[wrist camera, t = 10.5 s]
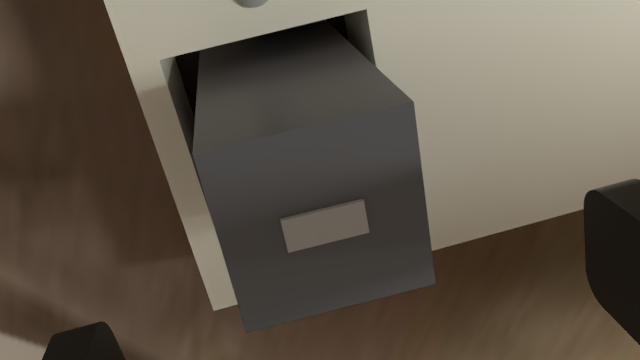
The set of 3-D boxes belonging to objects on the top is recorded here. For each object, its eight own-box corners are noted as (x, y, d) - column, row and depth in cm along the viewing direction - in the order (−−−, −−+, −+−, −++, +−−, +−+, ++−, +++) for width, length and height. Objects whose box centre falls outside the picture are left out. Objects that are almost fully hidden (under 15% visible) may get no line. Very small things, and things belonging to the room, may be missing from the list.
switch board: (574, -146, 18) (655, -159, 15) (580, 153, 22) (643, 194, 19) (114, -39, 17) (92, -27, 14) (212, 252, 21) (213, 313, 18)
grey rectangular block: (325, 20, 19) (415, 103, 11) (346, 137, 20) (436, 286, 12) (199, 48, 18) (192, 156, 10) (231, 164, 20) (246, 336, 12)
